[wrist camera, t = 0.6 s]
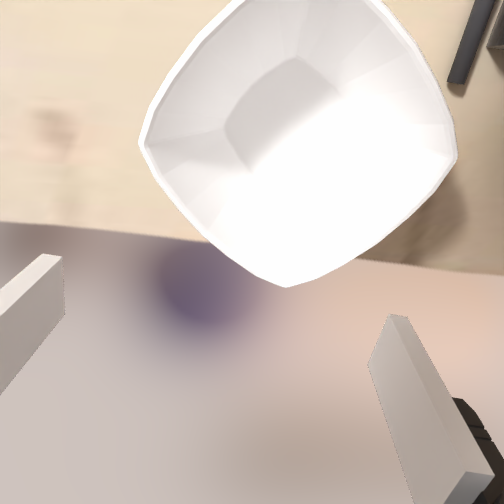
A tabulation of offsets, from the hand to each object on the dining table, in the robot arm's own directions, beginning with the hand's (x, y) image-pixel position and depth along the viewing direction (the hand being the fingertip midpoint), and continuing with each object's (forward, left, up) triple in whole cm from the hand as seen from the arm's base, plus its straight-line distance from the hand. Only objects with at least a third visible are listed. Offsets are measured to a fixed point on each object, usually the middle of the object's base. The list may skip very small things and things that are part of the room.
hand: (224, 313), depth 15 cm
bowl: (-4, +4, -30) cm, 30 cm away
